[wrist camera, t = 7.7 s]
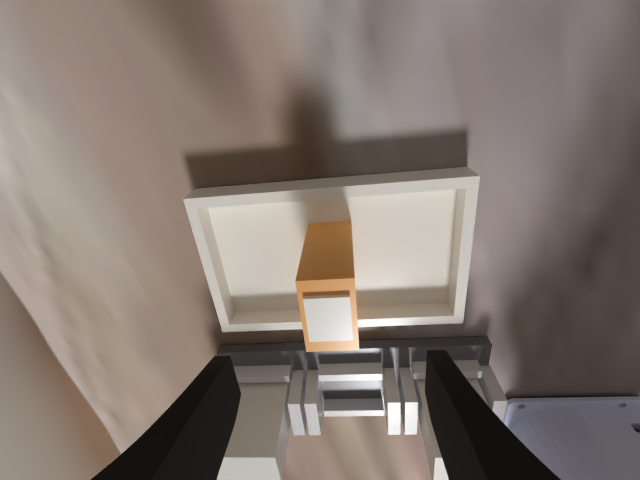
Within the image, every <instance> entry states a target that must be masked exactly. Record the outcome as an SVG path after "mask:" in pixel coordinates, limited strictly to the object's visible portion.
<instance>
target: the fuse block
mask: <svg viewBox="0 0 640 480" xmlns="http://www.w3.org/2000/svg"><path fill="white" fill-rule="evenodd" d="M491 347H492V344H491V342H490V340H489V339H488V337H487V336H480V337H450V338H419V339H389V340H359V350H351V351H318V352H306V346H305V342H298V343H268V344H238V345H220V348H219V350H218V352H217V354H218V356H230V357H231V360H232V363H233V367H234V370H235V374H236V377H237V381H238V383H272V382H290V378H291V386H290V392H289V398H288V404H287V405H288V409H289V414H290V419H291V424H292V428H293V433H294V435H305V433H306V423H307V424H308V429H309V435H321V426H322V416H384V415H386V421H387V429H388V435H400V415H401V416H402V422H403V428H404V433H405V435H412V434H417V418H418V399H417V395H416V391H415V386H414V379H425V376H426V357H427V350H446V351H447V352H448V354H449V355H450V357H451V358H452V359H453V361H454V362H455V364H456V365H457V367H458V368H459V369H460V371H461V372H462V373H463V375H464V376H465V377H466V378H477V380H478V382H479V385H480V387H481V389H482V392H483V394H484V396H485V398H486V401H487V403H488V405H489V407H490V408H491V409H492V411H493V412H494V413H495V414H496V415H497V416H498V417H499V418H500V420H501V421H502V422H503V420H504V416H505V411H506V407H507V402H508V400H507V398H506V396H505V395H504V393H503V391H502V389H501V387H500V385H499V383H498V381H497V379H496V377H495V375H494V373H493V371H492V369H491V367H490V365H489V359H490V353H491Z"/></svg>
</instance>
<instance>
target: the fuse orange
mask: <svg viewBox="0 0 640 480" xmlns="http://www.w3.org/2000/svg"><path fill="white" fill-rule="evenodd" d="M295 283H296V289H297V295H298V302H299V308H300V314H301V321H302V327H303V333H304V340H305V346H306V352H318V351H351V350H359V336H358V320H357V303H356V287H355V271H354V255H353V240H352V224H351V221H340V222H325V223H310V224H308V227H307V231H306V236H305V240H304V245H303V249H302V253H301V258H300V262H299V267H298V271H297V276H296V280H295Z"/></svg>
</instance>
